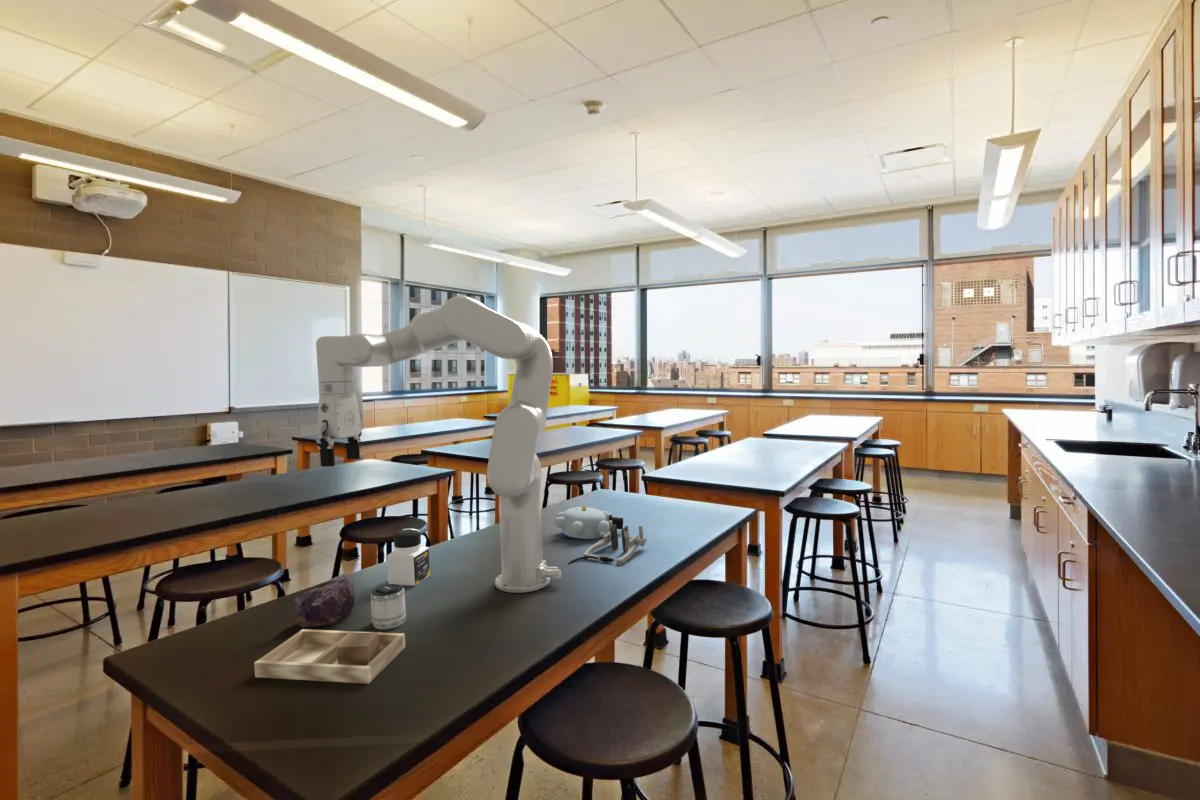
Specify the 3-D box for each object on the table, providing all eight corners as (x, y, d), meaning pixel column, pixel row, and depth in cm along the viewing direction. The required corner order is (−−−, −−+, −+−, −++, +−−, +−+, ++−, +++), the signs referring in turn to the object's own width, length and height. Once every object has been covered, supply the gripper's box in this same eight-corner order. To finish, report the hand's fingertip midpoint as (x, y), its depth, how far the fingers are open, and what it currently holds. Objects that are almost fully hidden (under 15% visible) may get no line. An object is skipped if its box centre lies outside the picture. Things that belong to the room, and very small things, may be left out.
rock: (294, 632, 115) (320, 643, 109) (283, 592, 114) (310, 602, 108) (348, 602, 125) (375, 612, 119) (339, 565, 123) (366, 573, 117)
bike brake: (608, 539, 163) (568, 572, 147) (605, 516, 162) (565, 547, 145) (651, 546, 156) (615, 582, 140) (649, 523, 155) (612, 556, 138)
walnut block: (379, 654, 101) (378, 632, 101) (368, 669, 96) (367, 646, 96) (350, 655, 101) (349, 633, 100) (338, 670, 96) (336, 647, 95)
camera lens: (391, 617, 118) (389, 579, 117) (413, 623, 115) (411, 584, 114) (365, 630, 112) (363, 590, 112) (387, 636, 109) (384, 596, 109)
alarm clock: (551, 543, 163) (622, 548, 163) (553, 513, 162) (624, 518, 162) (557, 525, 180) (621, 530, 180) (558, 498, 180) (623, 503, 179)
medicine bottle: (415, 586, 134) (413, 535, 133) (387, 585, 136) (384, 534, 135) (430, 575, 141) (428, 526, 140) (403, 574, 143) (401, 526, 142)
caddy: (405, 650, 103) (404, 633, 103) (368, 688, 92) (367, 668, 91) (303, 646, 106) (302, 629, 106) (255, 681, 95) (254, 662, 94)
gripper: (327, 391, 126) (332, 469, 127) (372, 387, 143) (376, 456, 144) (296, 391, 127) (301, 469, 128) (344, 388, 144) (348, 456, 145)
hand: (341, 462), depth 136 cm, fingers open, 9 cm apart
